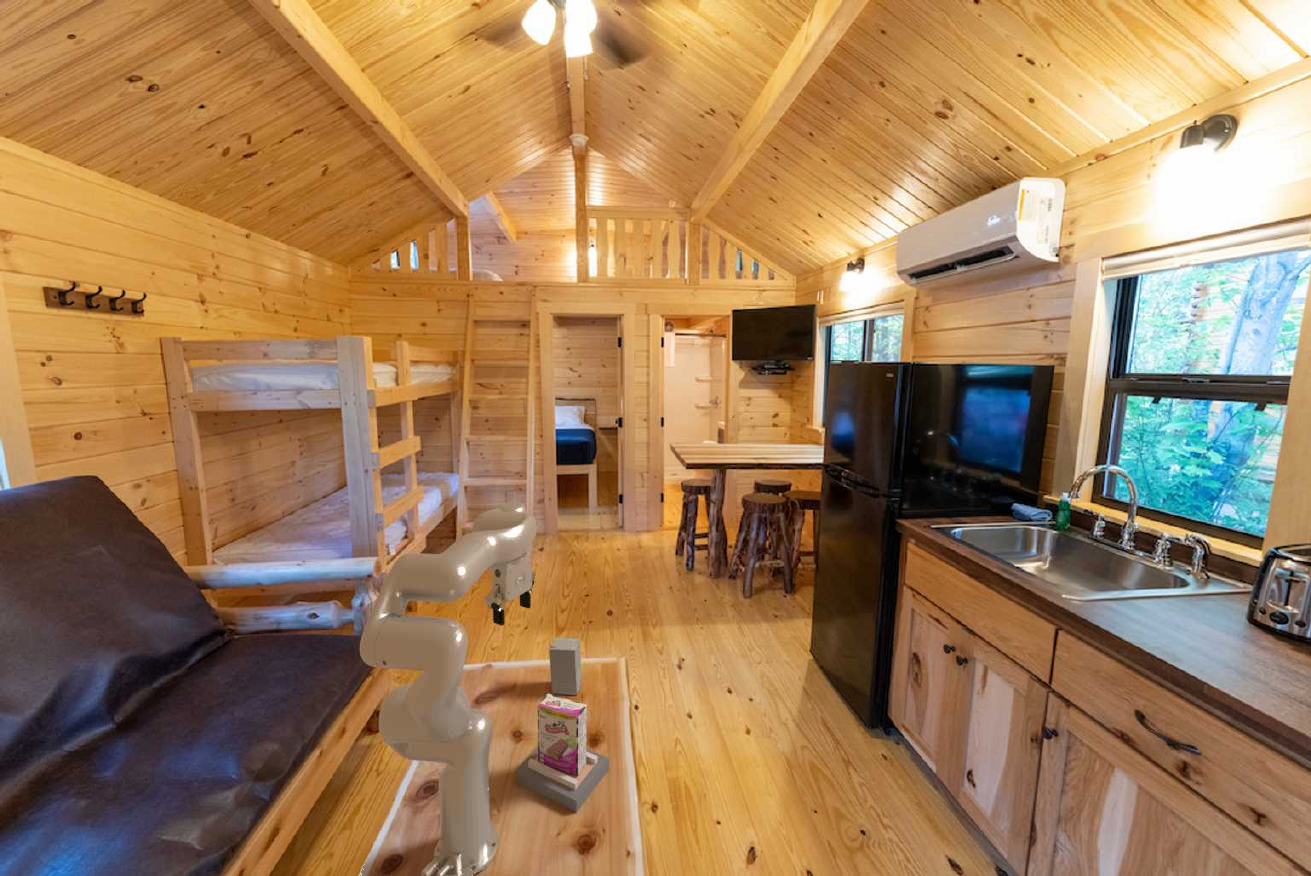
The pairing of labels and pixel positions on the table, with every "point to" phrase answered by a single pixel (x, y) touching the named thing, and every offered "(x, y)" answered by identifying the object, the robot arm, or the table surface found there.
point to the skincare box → (565, 666)
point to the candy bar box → (562, 734)
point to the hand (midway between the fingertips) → (512, 615)
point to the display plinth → (563, 779)
